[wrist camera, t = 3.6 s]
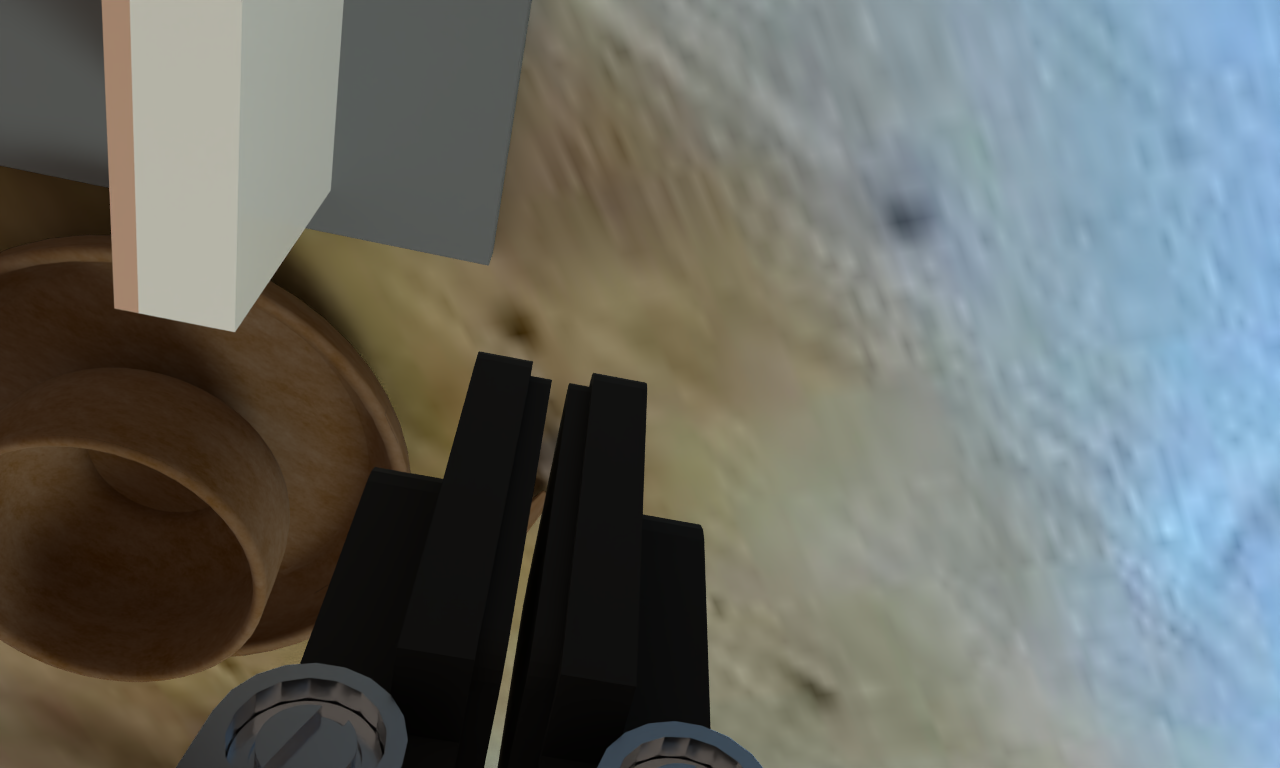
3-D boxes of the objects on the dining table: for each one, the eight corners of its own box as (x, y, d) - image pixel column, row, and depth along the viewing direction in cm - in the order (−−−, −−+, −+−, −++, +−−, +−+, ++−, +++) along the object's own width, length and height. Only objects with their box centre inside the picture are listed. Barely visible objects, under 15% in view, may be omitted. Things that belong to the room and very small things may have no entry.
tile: (244, -255, 20) (92, -218, 15) (358, -228, 21) (246, -183, 15) (235, 170, 25) (114, 308, 20) (330, 190, 25) (235, 332, 20)
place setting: (618, 443, 29) (611, 619, 24) (271, 850, 38) (215, 1036, 33) (-118, 34, 23) (-326, 152, 18) (-312, 626, 33) (-483, 809, 28)
